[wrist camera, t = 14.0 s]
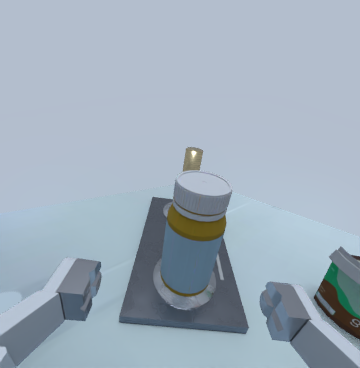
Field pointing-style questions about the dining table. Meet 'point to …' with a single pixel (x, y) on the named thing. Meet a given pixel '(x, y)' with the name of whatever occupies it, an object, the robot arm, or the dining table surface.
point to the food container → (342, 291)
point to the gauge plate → (170, 302)
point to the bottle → (194, 231)
